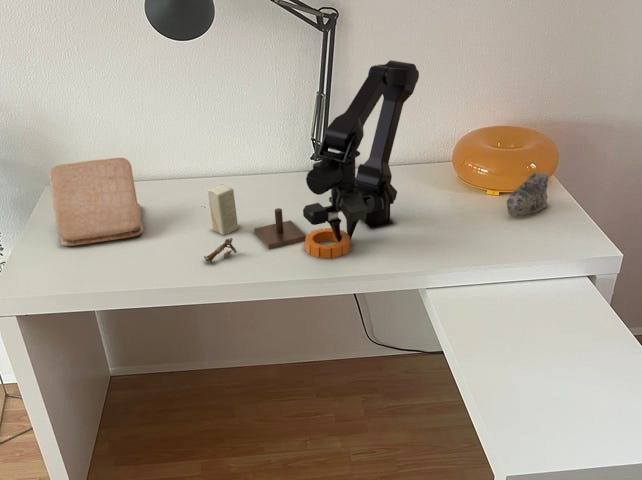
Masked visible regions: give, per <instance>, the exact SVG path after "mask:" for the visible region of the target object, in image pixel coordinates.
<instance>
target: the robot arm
mask: <svg viewBox="0 0 642 480" xmlns="http://www.w3.org/2000/svg"><path fill="white" fill-rule="evenodd" d="M419 77H420V72H419V70H418V69H417V66H416V64H415V63H410V62H405V61H404V62H403V61H398V60H392V59H391V60H388V61H387V62H386V63H385V64H374V65H372V66H371V67H370V68H369V70H368V74H367V76H366V78H365V80H364V82H363V83H362V85H361V86H360V88H359V90H358V91H357V93H356V94H355V96H354V98H353V99H352V100H351V103H350V104H349V106H348V107H347V109H346V110H345V111H344V112H343V113H341V114H340V115H338V116H336V117H335V118H334V119H333V120H332V121H331V123H330V124H329V125H328V126H327V128H326V129H325V132H324V135H323V138H322V140H321V143H320V146H319V149H318V152H317V155H316V156H317V158H318V159H322V160H320V161H317V162H315V163H313V164H312V169H311V170H309V171H308V172H307V174H306V177H305V181H306V186H307V187H308V189H309V190H310V192H312V193H313V194H315V195H323V194H325V193H327V192H329V191H330V196H329V197H328V202H329V203H331V205H327V206H323V205H322V204H320V202H315V203H310V204H306V205H305V206H304V207H303V209H302V215H303V218H305V219H306V220H307V222H308V223H310V224H311V225H312V226H317V225H322V224H326V223H328V224H329V226H330V228H332V230H333V233H334V235H335V237H336V239H337V241H338V242H340V238H341V236H340V230H341V222H342V219H341V218H340V217H339V213H342V214H343V217H344V218H345V221H346V222H345V223H346V224H345V225H346V233H347V234H348V235H349V236H350V240H352V238H353V235H354V232H355V230H356V227H357V225H358V223H359V221H361V222H363V223H364V225H366V226H367V227H368V228H370V229H375V228H381V227H384V226H388V225H393V224H394V221H393V220H392V219H391V205H393V204H394V203H395V201H396V200H397V196H398V195H397V194H398V191H397V189H396V188H395V186H393V185H392V184H391V183H392V172H391V168H390V165H389V163H390V159H391V156H392V150H393V147H394V143H395V139H396V135H397V131H398V128H399V127H398V126H399V124H400V123H399V122H400V120H401V116H402V115H401V114H402V111H403V107H404V104H405V102H406V101H408V99H409V98H410V97H411V96H412V95H413V94H414V91H415V88H416V85H417V83H418V82H419V79H420V78H419ZM381 97H383V100H382V104H381V107H380V111H379V115H378V120H377V123H376V128H375V131H374V136H373V140H372V144H371V148H370V152H369V155H368V156H369V157H368V159H367V160H366V161H365V162H364V163H360V164H359V165H358V167H357V171H356V158H359V157H360V156H361V152H360V151H359V150H358V149H359V147H360V145H361V143H362V141H363V138H364V136H365V134H364V127H365V124H366V122H367V120H368V119H369V118H370V116H371V114H372V113H373V111H374V109H375V107H376V106H377V104H378V102H379V101H380V99H381ZM331 150H332V151H331ZM335 151H338V152H335ZM356 173H357V174H356ZM338 242H337V243H338Z"/></svg>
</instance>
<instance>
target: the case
mask: <svg viewBox="0 0 642 480" xmlns="http://www.w3.org/2000/svg"><path fill="white" fill-rule="evenodd" d="M48 177H49V178H48V179H49V184H50V192H51V198H52V199H51V200H52V205H53V211H54V218H55V225H56V231H57V235H58V236H59V238H60V240H61V241H60V243H61V244H62V246H65V247H75V246H80V245H81V246H82V245H88V244H95V243H100V242H101V243H102V242H107V241H115V240H121V239H128V238H135V237H138V236H140V235H142V234H143V231H144V230H143V221H142V214H141V205H140V203H138V199H137V192H136V187H135V181H134V175H133V168H132V165H131V162H130V161H129V160H128V159H127V158H125V157H113V158H105V159H104V158H103V159H94V160H93V159H92V160H86V161H85V160H84V161H78V162H73V163H64V164H58V165H55V166H53V167H52V168H51V169H50V170H49V172H48Z"/></svg>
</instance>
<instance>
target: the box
mask: <svg viewBox="0 0 642 480" xmlns="http://www.w3.org/2000/svg"><path fill="white" fill-rule="evenodd" d="M207 195H208V201H209V209H210V215H211V223H212V230H213V231H214V232H216V233H218V234H220V235H222V236H224V235H225V236H226V235H228V234H230V233H232V232H234V231H236V230H238V229H239V224H238V216H237V214H238V213H237V208H236V200H235V191H234V188H233V187H230V186H228V185H226V184H220V185H217V186H215V187H213V188H210V189H208V190H207Z"/></svg>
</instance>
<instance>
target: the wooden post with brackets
mask: <svg viewBox="0 0 642 480" xmlns="http://www.w3.org/2000/svg"><path fill="white" fill-rule="evenodd" d="M233 240H234V239H233V237H230V238H229V237H228V238H226V239H225V241H224V242H223V243H222V244H220V245H219V246H218V247H217V248H216V249H215V250H214V251H213V252H211V253H210V254H209V255H203V258H204V260H206V262H207V263H208V264H209V265H212V261H213V260H214V259H215V258H216V256H218V255H220V253H222V252H223V251H224V250H225V249H226V248H229V249H230V250H226V252H224V253H223V255H222V257H223V258H224V259H225V258H229V256H231V254H232V252H233V253H235V254H236V253H237V252H238V251H237V249H236V247H234V245H233V244H232V243H233Z"/></svg>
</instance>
